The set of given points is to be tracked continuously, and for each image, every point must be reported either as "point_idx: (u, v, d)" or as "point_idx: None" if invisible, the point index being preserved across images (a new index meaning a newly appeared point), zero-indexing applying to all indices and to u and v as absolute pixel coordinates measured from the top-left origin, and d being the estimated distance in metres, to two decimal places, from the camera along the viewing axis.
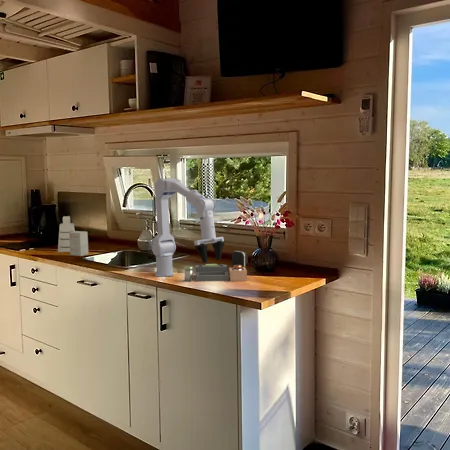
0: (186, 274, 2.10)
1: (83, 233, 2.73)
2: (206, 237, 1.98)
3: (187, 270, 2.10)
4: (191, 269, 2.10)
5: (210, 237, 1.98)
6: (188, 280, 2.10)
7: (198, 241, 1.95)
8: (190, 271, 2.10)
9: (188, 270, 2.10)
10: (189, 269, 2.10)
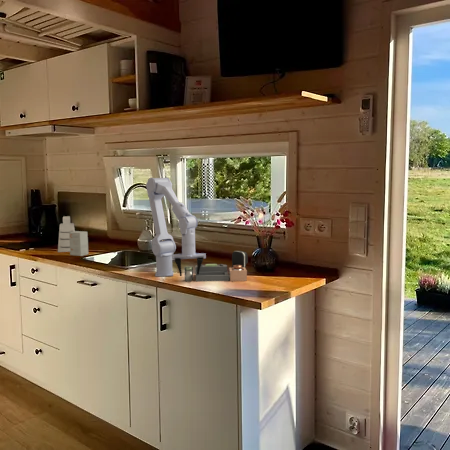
0: (186, 274, 2.10)
1: (83, 233, 2.73)
2: (182, 253, 2.09)
3: (187, 270, 2.10)
4: (191, 269, 2.10)
5: (185, 254, 2.08)
6: (188, 280, 2.10)
7: (173, 256, 2.09)
8: (190, 271, 2.10)
9: (188, 270, 2.10)
10: (189, 269, 2.10)
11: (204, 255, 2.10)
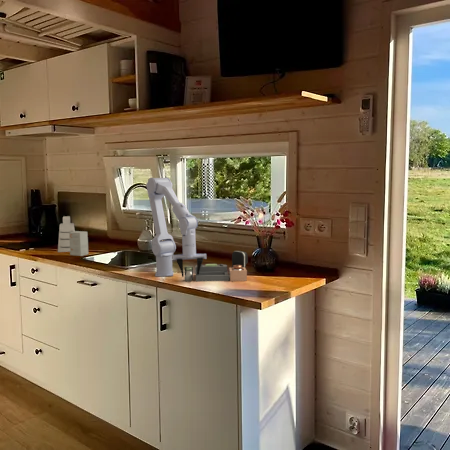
0: (186, 274, 2.10)
1: (83, 233, 2.73)
2: (183, 254, 2.09)
3: (187, 270, 2.10)
4: (191, 269, 2.10)
5: (186, 254, 2.08)
6: (188, 280, 2.10)
7: (173, 256, 2.09)
8: (190, 271, 2.10)
9: (188, 270, 2.10)
10: (189, 269, 2.10)
11: (205, 255, 2.10)
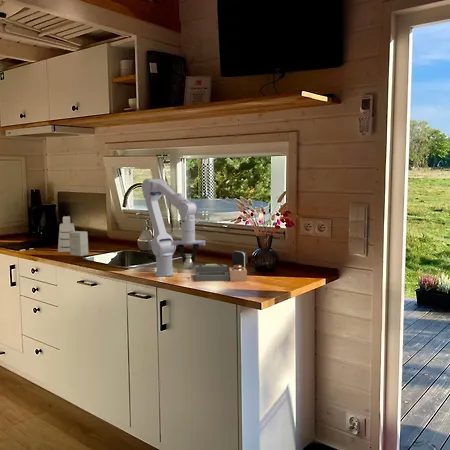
0: (186, 262, 2.10)
1: (83, 233, 2.73)
2: (182, 239, 2.09)
3: (187, 258, 2.09)
4: (191, 257, 2.10)
5: (185, 240, 2.08)
6: (188, 268, 2.10)
7: (172, 242, 2.09)
8: (190, 259, 2.10)
9: (188, 258, 2.09)
10: (189, 257, 2.09)
11: (203, 242, 2.10)
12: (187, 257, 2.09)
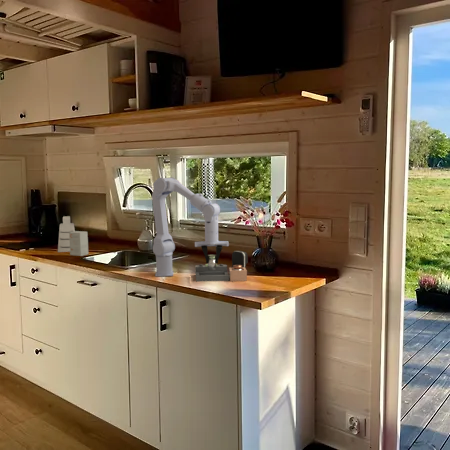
0: (209, 262, 2.11)
1: (83, 233, 2.73)
2: (206, 240, 2.09)
3: (210, 258, 2.10)
4: (214, 258, 2.11)
5: (208, 241, 2.08)
6: (211, 268, 2.11)
7: (196, 243, 2.10)
8: (213, 259, 2.10)
9: (211, 258, 2.10)
10: (212, 257, 2.10)
11: (227, 243, 2.11)
12: (211, 258, 2.10)
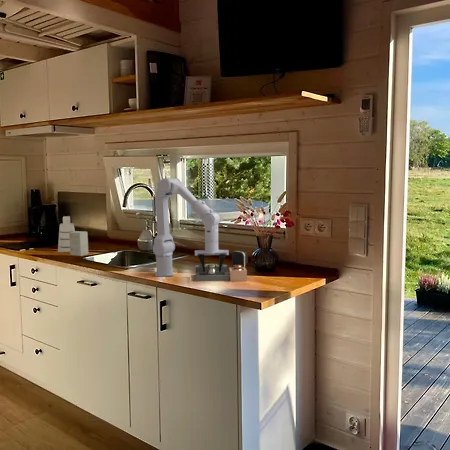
0: (209, 272, 2.11)
1: (83, 233, 2.73)
2: (206, 249, 2.10)
3: (210, 268, 2.11)
4: (214, 267, 2.11)
5: (208, 250, 2.09)
6: None
7: (196, 252, 2.10)
8: (213, 268, 2.11)
9: (211, 268, 2.11)
10: (212, 267, 2.11)
11: (227, 252, 2.11)
12: (211, 267, 2.11)
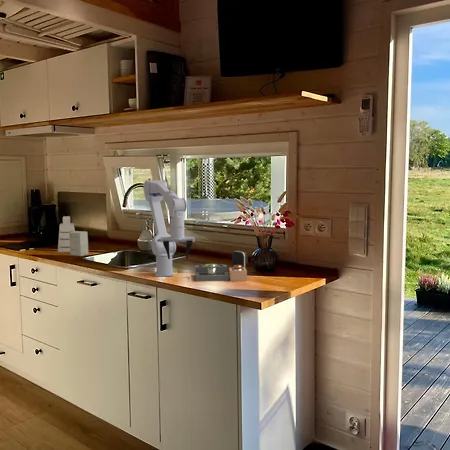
0: (209, 272, 2.11)
1: (83, 233, 2.73)
2: (171, 236, 2.07)
3: (210, 268, 2.11)
4: (214, 267, 2.11)
5: (174, 237, 2.06)
6: None
7: (161, 239, 2.07)
8: (213, 268, 2.11)
9: (211, 268, 2.11)
10: (212, 267, 2.11)
11: (193, 238, 2.08)
12: (211, 267, 2.11)
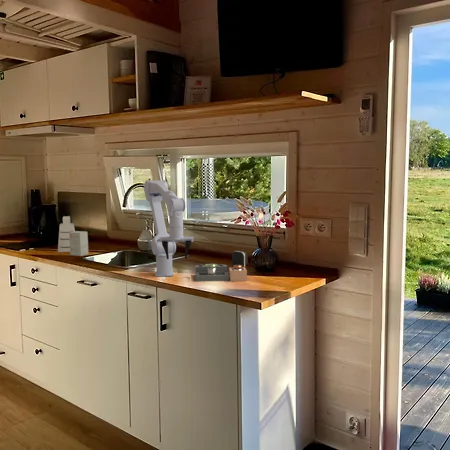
0: (209, 272, 2.11)
1: (83, 233, 2.73)
2: (170, 236, 2.07)
3: (210, 268, 2.11)
4: (214, 267, 2.11)
5: (173, 237, 2.06)
6: None
7: (160, 239, 2.07)
8: (213, 268, 2.11)
9: (211, 268, 2.11)
10: (212, 267, 2.11)
11: (192, 238, 2.08)
12: (211, 267, 2.11)
